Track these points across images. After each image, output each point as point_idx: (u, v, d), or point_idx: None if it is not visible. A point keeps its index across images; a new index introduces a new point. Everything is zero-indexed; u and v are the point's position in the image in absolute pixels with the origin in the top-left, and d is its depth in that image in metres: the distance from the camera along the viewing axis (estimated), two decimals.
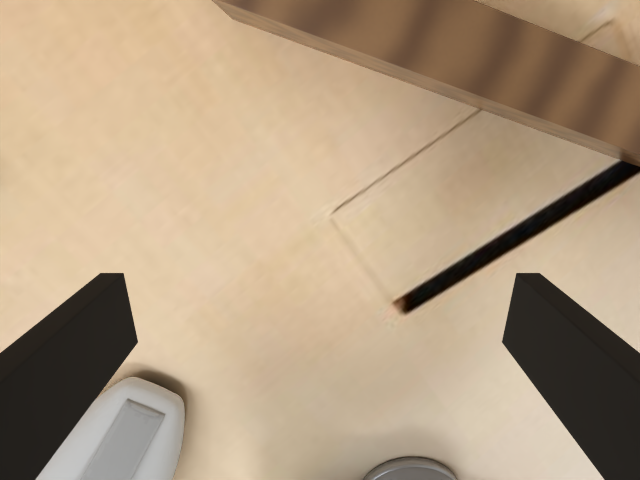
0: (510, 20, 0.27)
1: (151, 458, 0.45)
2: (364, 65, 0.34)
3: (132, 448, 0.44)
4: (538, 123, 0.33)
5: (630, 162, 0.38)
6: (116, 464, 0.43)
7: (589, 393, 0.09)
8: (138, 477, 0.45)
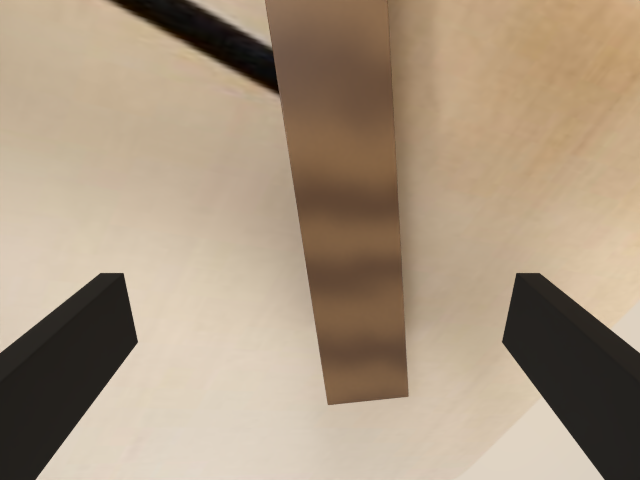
0: None
1: None
2: None
3: None
4: None
5: None
6: None
7: (589, 393, 0.09)
8: None
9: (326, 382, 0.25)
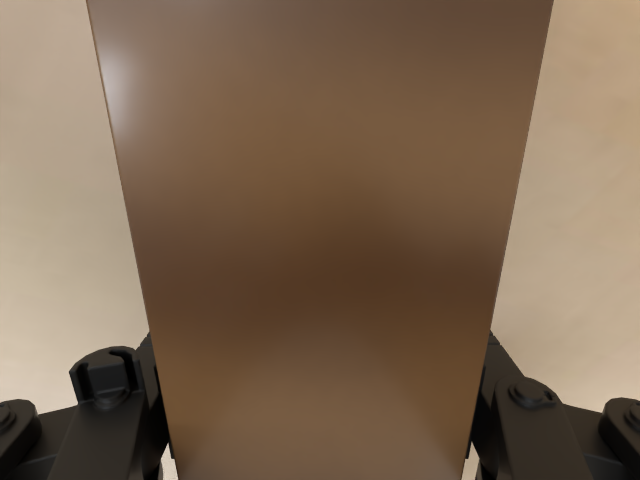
0: None
1: None
2: None
3: None
4: None
5: None
6: None
7: None
8: None
9: None
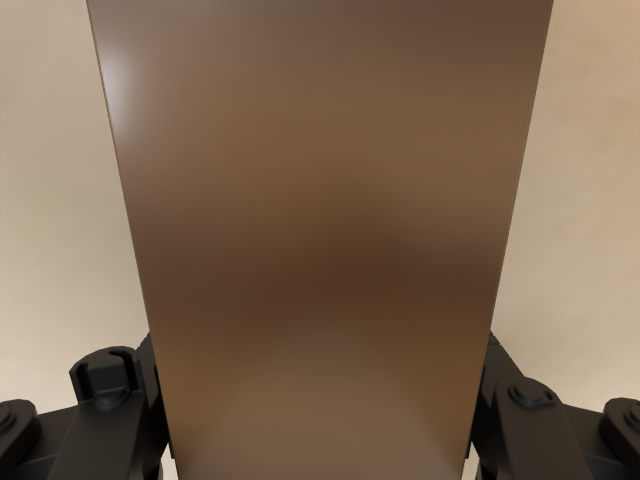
0: None
1: None
2: None
3: None
4: None
5: None
6: None
7: None
8: None
9: None
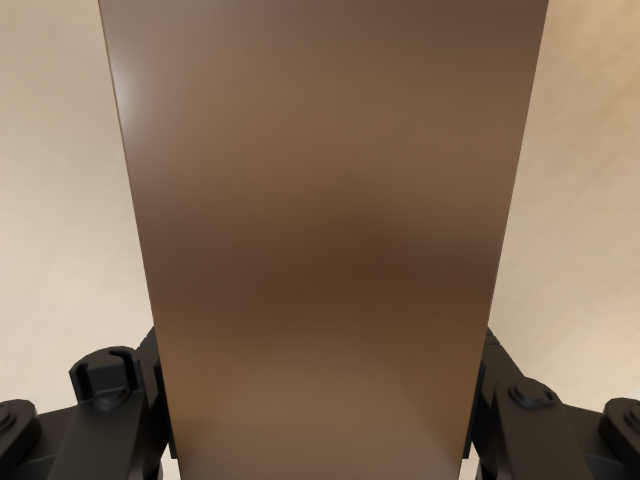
0: None
1: None
2: None
3: None
4: None
5: None
6: None
7: None
8: None
9: None
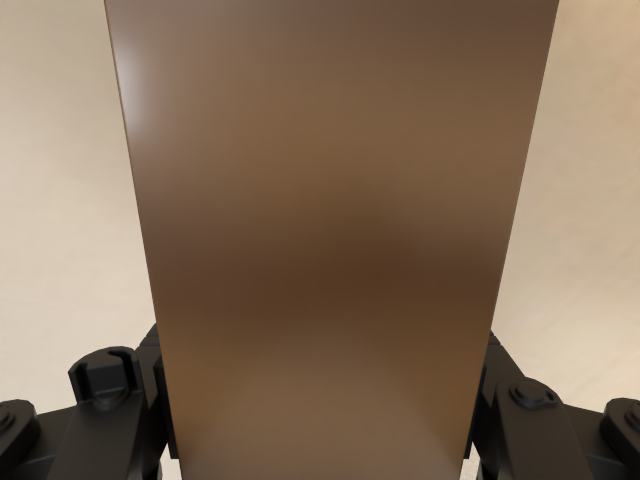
0: None
1: None
2: None
3: None
4: None
5: None
6: None
7: None
8: None
9: None
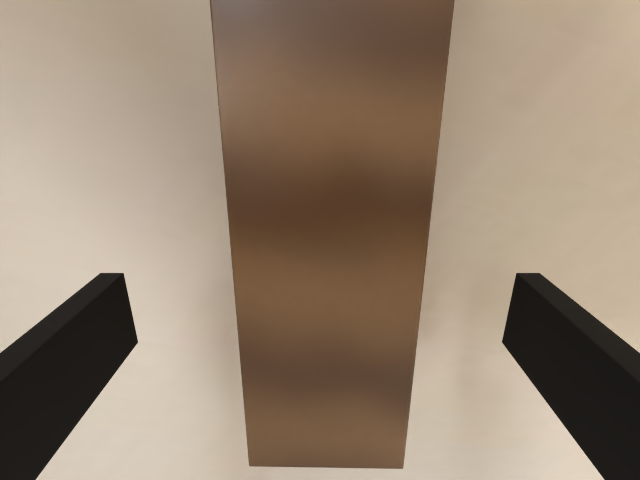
0: None
1: None
2: None
3: None
4: None
5: None
6: None
7: (589, 393, 0.09)
8: None
9: (250, 424, 0.13)
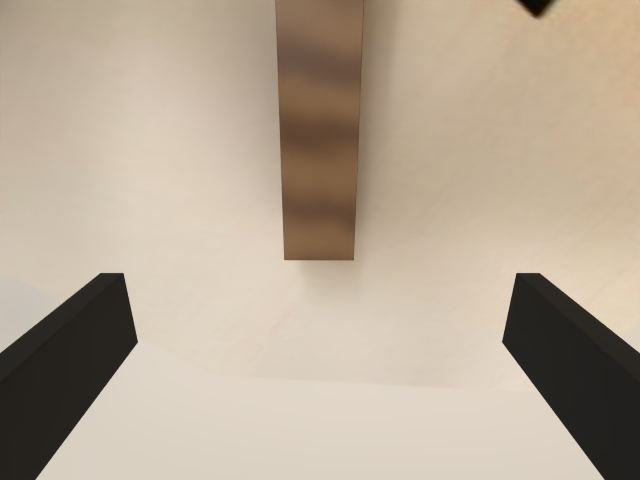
0: None
1: None
2: None
3: None
4: None
5: None
6: None
7: (589, 393, 0.09)
8: None
9: (285, 236, 0.29)
